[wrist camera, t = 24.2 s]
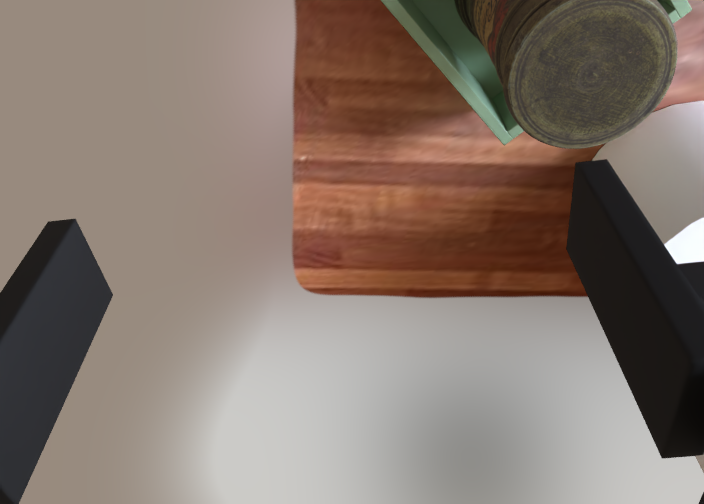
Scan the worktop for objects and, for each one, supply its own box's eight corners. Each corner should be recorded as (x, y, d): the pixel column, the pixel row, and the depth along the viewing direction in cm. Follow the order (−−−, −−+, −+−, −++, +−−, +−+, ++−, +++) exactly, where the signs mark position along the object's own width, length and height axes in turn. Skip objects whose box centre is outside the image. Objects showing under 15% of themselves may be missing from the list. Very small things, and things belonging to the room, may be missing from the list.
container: (587, -97, 42) (712, -29, 27) (568, 36, 47) (663, 151, 33) (454, -87, 42) (508, -14, 28) (450, 45, 47) (493, 161, 33)
